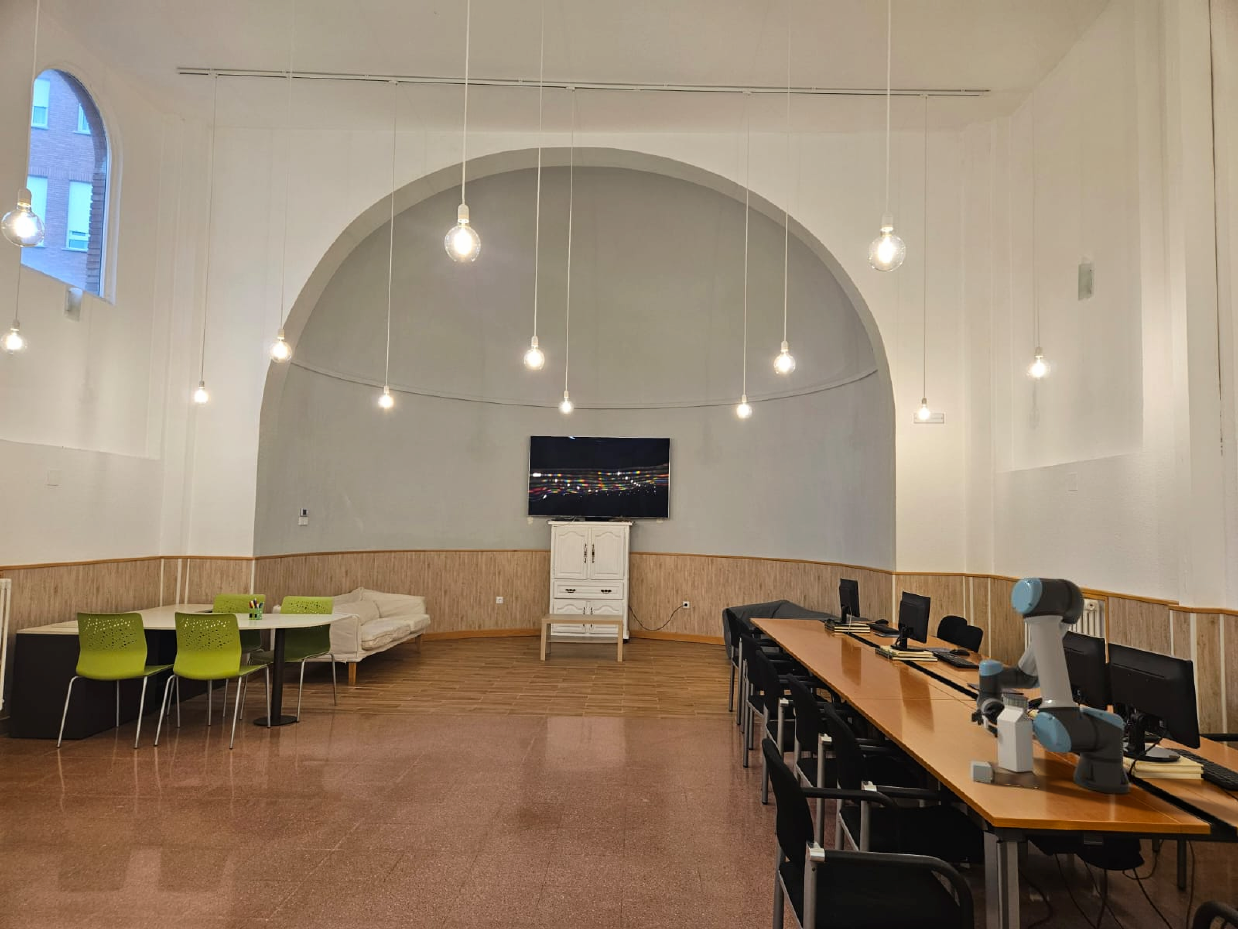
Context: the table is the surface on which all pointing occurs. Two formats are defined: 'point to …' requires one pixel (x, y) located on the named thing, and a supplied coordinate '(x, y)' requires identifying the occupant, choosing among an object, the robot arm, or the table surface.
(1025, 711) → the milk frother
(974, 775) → the grey cube
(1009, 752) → the milk carton
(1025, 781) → the walnut block
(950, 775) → the table surface
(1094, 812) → the table surface
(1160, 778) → the table surface
